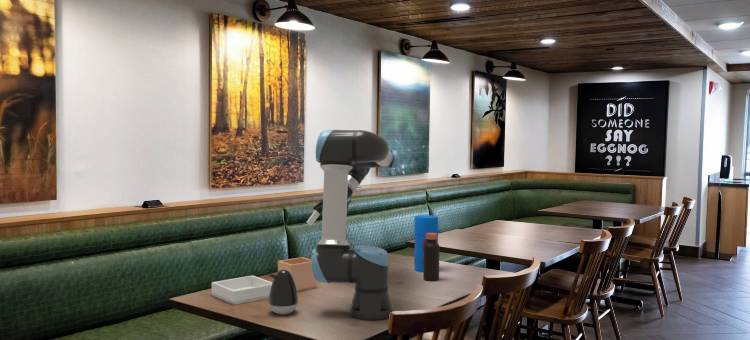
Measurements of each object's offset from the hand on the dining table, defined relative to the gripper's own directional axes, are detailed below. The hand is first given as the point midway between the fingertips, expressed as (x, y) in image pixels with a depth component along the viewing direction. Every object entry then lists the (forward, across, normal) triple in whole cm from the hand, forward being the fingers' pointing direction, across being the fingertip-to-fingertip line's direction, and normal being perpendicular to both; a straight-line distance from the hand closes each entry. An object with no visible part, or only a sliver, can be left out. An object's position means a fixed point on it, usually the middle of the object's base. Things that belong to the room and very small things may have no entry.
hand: (318, 226), depth 248 cm
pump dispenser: (+40, -26, +7) cm, 48 cm away
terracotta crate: (+25, 0, -10) cm, 26 cm away
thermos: (-20, -12, -55) cm, 60 cm away
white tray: (+40, +3, +7) cm, 41 cm away
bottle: (-12, -26, -47) cm, 55 cm away
